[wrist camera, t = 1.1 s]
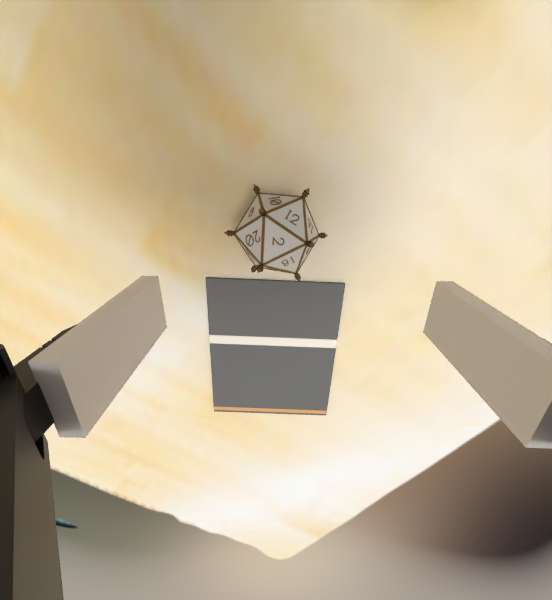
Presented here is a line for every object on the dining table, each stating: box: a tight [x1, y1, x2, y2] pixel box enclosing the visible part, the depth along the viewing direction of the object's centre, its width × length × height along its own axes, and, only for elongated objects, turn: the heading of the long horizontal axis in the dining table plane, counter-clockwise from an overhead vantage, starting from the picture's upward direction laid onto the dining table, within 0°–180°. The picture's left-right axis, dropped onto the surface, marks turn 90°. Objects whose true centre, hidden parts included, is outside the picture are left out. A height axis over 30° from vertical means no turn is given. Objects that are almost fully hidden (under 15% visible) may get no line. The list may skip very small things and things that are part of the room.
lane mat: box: [206, 277, 345, 415], centre depth 37 cm, size 20×16×1 cm
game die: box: [225, 184, 327, 281], centre depth 27 cm, size 9×8×10 cm
